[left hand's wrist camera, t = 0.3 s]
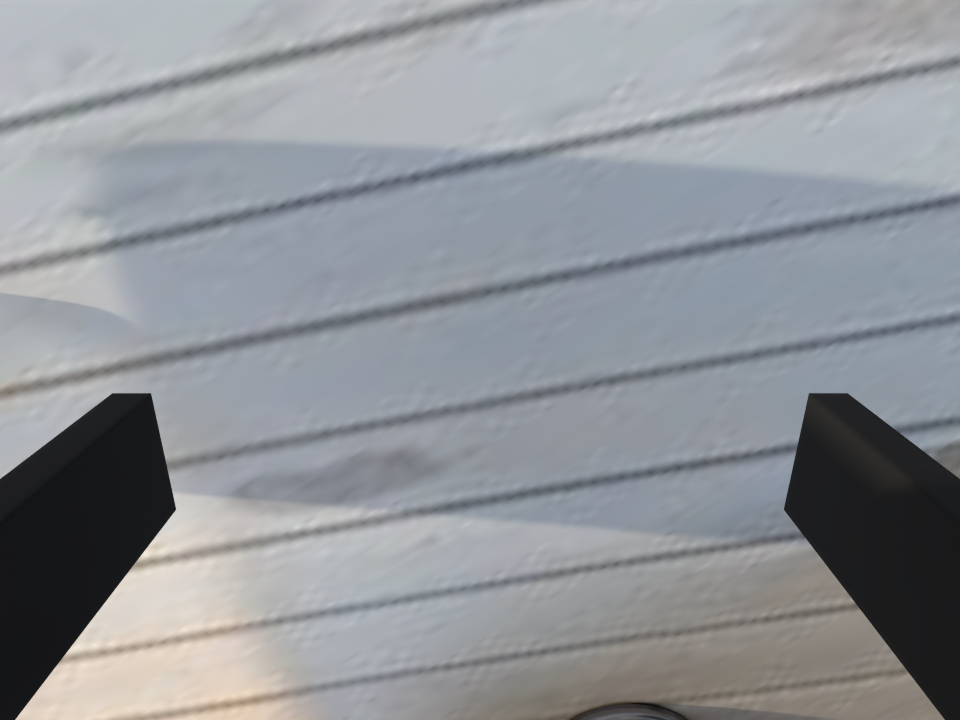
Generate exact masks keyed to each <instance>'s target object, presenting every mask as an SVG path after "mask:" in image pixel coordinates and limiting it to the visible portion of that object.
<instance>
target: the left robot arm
mask: <svg viewBox="0 0 960 720" xmlns="http://www.w3.org/2000/svg"><path fill="white" fill-rule="evenodd" d="M175 510H176V507H175V502H174V498H173V493H172V488H171V484H170V479H169V475H168V470H167V465H166V461H165V456H164V452H163V447H162V442H161V438H160V433H159V429H158V424H157V419H156V415H155V410H154V405H153V401H152V396H151V393H112V394H111V395H110V396H109V397H107V398H106V399H105V400H103V401H102V402H101V403H99V404H98V405H97V406H95V407H94V408H93V409H91V410H90V411H89V412H88V413H86V414H85V415H84V416H82V417H81V418H80V419H78V420H77V421H76V422H74V423H73V424H72V425H71V426H69V427H68V428H67V429H65V430H64V431H63V432H61V433H60V434H59V435H57V436H56V437H55V438H54V439H52V440H51V441H50V442H48V443H47V444H46V445H44V446H43V447H42V448H40V449H39V450H38V451H36V452H35V453H34V454H33V455H31V456H30V457H29V458H27V459H26V460H25V461H23V462H22V463H21V464H19V465H18V466H17V467H16V468H14V469H13V470H12V471H10V472H9V473H8V474H6V475H5V476H4V477H2V478H1V479H0V720H15V719H16V718H17V716H18V715H19V714H20V713H21V711H22V710H23V709H24V707H25V706H26V705H27V703H28V702H29V701H30V699H31V698H32V697H33V696H34V694H35V693H36V692H37V690H38V689H39V688H40V686H41V685H42V684H43V683H44V681H45V680H46V679H47V677H48V676H49V675H50V673H51V672H52V671H53V669H54V668H55V667H56V666H57V664H58V663H59V662H60V660H61V659H62V658H63V656H64V655H65V654H66V652H67V651H68V650H69V649H70V647H71V646H72V645H73V643H74V642H75V641H76V639H77V638H78V637H79V636H80V634H81V633H82V632H83V630H84V629H85V628H86V626H87V625H88V624H89V622H90V621H91V620H92V619H93V617H94V616H95V615H96V613H97V612H98V611H99V609H100V608H101V607H102V606H103V604H104V603H105V602H106V600H107V599H108V598H109V596H110V595H111V594H112V592H113V591H114V590H115V589H116V587H117V586H118V585H119V583H120V582H121V581H122V579H123V578H124V577H125V575H126V574H127V573H128V572H129V570H130V569H131V568H132V566H133V565H134V564H135V562H136V561H137V560H138V559H139V557H140V556H141V555H142V553H143V552H144V551H145V549H146V548H147V547H148V545H149V544H150V543H151V542H152V540H153V539H154V538H155V536H156V535H157V534H158V532H159V531H160V530H161V528H162V527H163V526H164V525H165V523H166V522H167V521H168V519H169V518H170V517H171V515H172V514H173V513H174V512H175ZM784 510H785V512H786V513H787V514H788V515H789V517H790V518H791V519H792V521H793V522H794V523H795V525H796V526H797V527H798V528H799V530H800V531H801V532H802V534H803V535H804V536H805V538H806V539H807V540H808V542H809V543H810V544H811V545H812V547H813V548H814V549H815V551H816V552H817V553H818V555H819V556H820V557H821V559H822V560H823V561H824V562H825V564H826V565H827V566H828V568H829V569H830V570H831V572H832V573H833V574H834V575H835V577H836V578H837V579H838V581H839V582H840V583H841V585H842V586H843V587H844V589H845V590H846V591H847V592H848V594H849V595H850V596H851V598H852V599H853V600H854V602H855V603H856V604H857V606H858V607H859V608H860V609H861V611H862V612H863V613H864V615H865V616H866V617H867V619H868V620H869V621H870V622H871V624H872V625H873V626H874V628H875V629H876V630H877V632H878V633H879V634H880V636H881V637H882V638H883V639H884V641H885V642H886V643H887V645H888V646H889V647H890V649H891V650H892V651H893V652H894V654H895V655H896V656H897V658H898V659H899V660H900V662H901V663H902V664H903V666H904V667H905V668H906V669H907V671H908V672H909V673H910V675H911V676H912V677H913V679H914V680H915V681H916V683H917V684H918V685H919V686H920V688H921V689H922V690H923V692H924V693H925V694H926V696H927V697H928V698H929V699H930V701H931V702H932V703H933V705H934V706H935V707H936V709H937V710H938V711H939V713H940V714H941V715H942V716H943V718H944V719H945V720H960V479H959V478H958V477H956V476H955V475H954V474H952V473H951V472H950V471H948V470H947V469H946V468H944V467H943V466H942V465H941V464H939V463H938V462H937V461H935V460H934V459H933V458H931V457H930V456H929V455H927V454H926V453H925V452H924V451H922V450H921V449H920V448H918V447H917V446H916V445H914V444H913V443H912V442H910V441H909V440H908V439H906V438H905V437H904V436H903V435H901V434H900V433H899V432H897V431H896V430H895V429H893V428H892V427H891V426H889V425H888V424H887V423H886V422H884V421H883V420H882V419H880V418H879V417H878V416H876V415H875V414H874V413H872V412H871V411H870V410H869V409H867V408H866V407H865V406H863V405H862V404H861V403H859V402H858V401H857V400H855V399H854V398H853V397H851V396H850V395H849V394H848V393H809V396H808V401H807V405H806V410H805V415H804V419H803V424H802V429H801V433H800V438H799V442H798V447H797V452H796V456H795V461H794V465H793V470H792V475H791V479H790V484H789V488H788V493H787V498H786V502H785V507H784ZM572 720H686V719H684V718H682V717H681V716H679V715H677V714H675V713H673V712H671V711H668V710H665V709H662V708H658V707H654V706H648V705H640V704H622V705H613V706H607V707H602V708H598V709H595V710H592V711H589V712H586V713H584V714H581V715H579V716H577V717H575V718H573V719H572Z"/></svg>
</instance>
